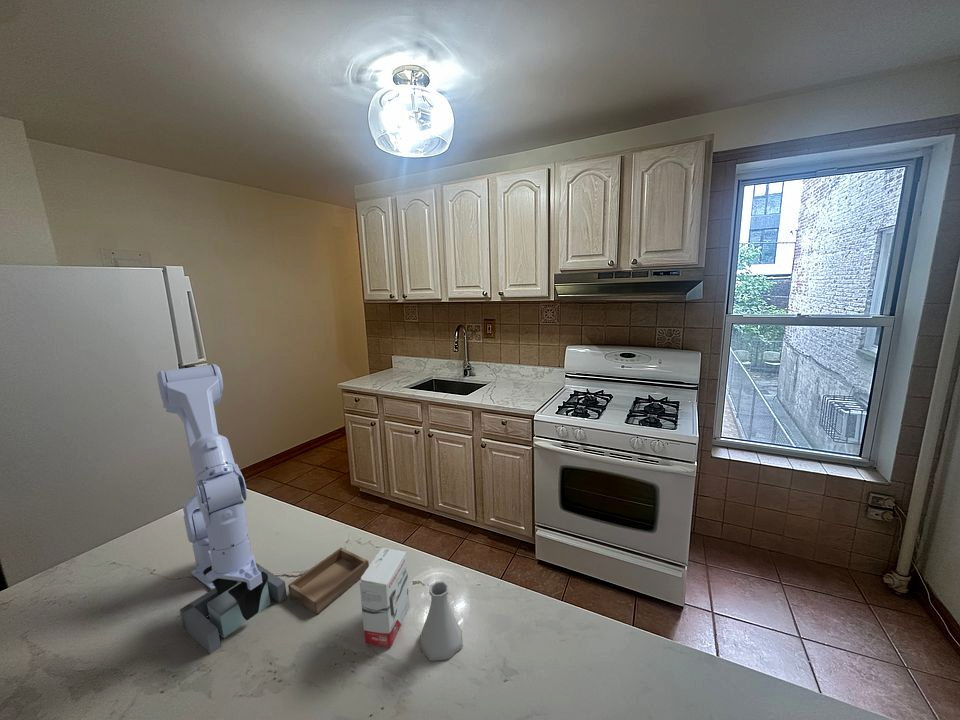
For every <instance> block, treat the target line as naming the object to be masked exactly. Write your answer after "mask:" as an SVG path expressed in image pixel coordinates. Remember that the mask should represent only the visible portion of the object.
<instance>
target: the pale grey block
mask: <svg viewBox="0 0 960 720" xmlns="http://www.w3.org/2000/svg"><path fill="white" fill-rule="evenodd" d="M240 583H241V582H239V583H238V584H240ZM238 584H236V585H235V586H237V585H238ZM235 586H233V587H231V588H230V589H232V588H234V587H235ZM230 589H228V590H227V591H225V592H224V593H222V594H221V595H219V596H217V597H216V598H214V599H213V600H211V601H210V602H208V603H207V607H208V612H209V616H208V617H209V621H210V622H211V623H212V624H213V625H215V626H216V627H217V628H218V633H219V636H221V637H222V638H223V639H225V638H227V637H228V636H229V635H231V633H234V632H235V631H237V629H239V628H240V627H241V626H243V625H244V624H246V623H247V622H248V621H250V620H251V619H252V618H254V617H256V615H258V614H259V613H261V612H262V611H263V610H264V609H266V608H267V607H269V606H271V597H270V596H269V591H268V584H267V582H266V584H265V586H264V588H263V591H262V594H261V599H260V606H259V611H258V613H257V614H256V615H254V616H253V617H251V618H250V619H249V620H245V619H244V617H243V616H242V613H241V610H240V607H239V605H238V603H237V601H236V600H235V598H234V597H233V596H232V595H230V594H229V593H228V591H229V590H230Z"/></svg>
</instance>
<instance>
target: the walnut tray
mask: <svg viewBox="0 0 960 720" xmlns="http://www.w3.org/2000/svg"><path fill="white" fill-rule="evenodd" d="M369 565H370V562H369V560H368V559H366V558H363V557H361V556H359V555H357V554H355V553H353V552H351V551H349V550H347V549H345V548H343V547H340V548H338V549H336V550H335V551H333V552H332V553H331V554H330V555H328V556H327V557H326V558H324V559H323V560H321V561H320V562H319V563H316V565H314V566H313V567H311V568H310V569H309V570H307V571H306V572H304V573H303V574H301V576H299V577H297V578H296V579H295V580H293V581H291V583H289V584H287V586H288V594H289V598H291V599H293V600H294V601H296V602H297V603H299V604H300V605H302V606H303V607H305V608H307V609H308V610H309V611H311V612H312V613H314V614H315V615H317V616H318V615H320V614H321V613H322V612H323V611H324V610H325V609H327V608H328V607H330V605H331V604H333V603H334V602H335V601H336V600H337V599H338V598H340V597H341V596H342V595H344V594H345V593H346V592H347V591H348V590H349V589H351V588H352V587H353V586H354V585H356V583H358V581H359V582H360V581H361V576H362V575H363V574H364V572H365V571H366V569H367V568H368V567H369Z"/></svg>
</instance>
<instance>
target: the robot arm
mask: <svg viewBox="0 0 960 720" xmlns="http://www.w3.org/2000/svg"><path fill="white" fill-rule="evenodd" d="M156 379H157V383H158V389H159V394H160V398H161V400H162V404H163V405H162V406H163V408H164V409H165V412H167V413H169V414H170V413H171V414H175V415H176V414H177V415H178V416H179V418H180V420H181V421H182V423H183V426H184V431H185V435H186V443H187V446H188V453H189V457H190V462H191V467H192V471H193V476H194V481H195V493H194V494H192V495H191V496H190V498H188V500H187V501H186V502H185V503H184V505H183V507H182V509H183V521H184V526H185V531H186V535H187V539H188V542H189V543H192V549H193V555H194V556H193V557H194V560H195V566H196V569H193V570H192V571H191V575H193V577H195V578H196V579H198V580H199V581H200V582H201V583H202V584H204V585H205V586H206V587H207V588H208V589H210V591H211V590H212V589H214V588H216V590H217V592H218V594H219V595H221V594H222V593H224V592H225V591H227V590H228V589H230V588H231V587H233V586H235V585H236V584H237V581H241V583H240V584H238V585H237V586H235V587H234V588H232V589H230V590H229V591H228V593H229V594H230V595H232V596H233V597H234V598H235V600H236V601H237V603H238V605H239V607H240V610H241V613H242V616H243V617H244V619H245V620H248V621H250V620H251V619H252V618H254V617H255V616H256V615H258V614H259V613H258V611H259V606H260V599H261V594H262V591H263V588H264V586H265V584H266V582H267V580H268V574H266V573H265V572H259V571H258V569H257V566H256V563H257V562H256V559H255V556H254V553H253V552H252V547H251V542H250V541H251V540H250V535H249V527H248V522H247V511H246V506H245V502H246V501H247V500H248V499H247V498H248V497H247V493H248V492H247V491H248V490H247V485H246V482H245V478H244V476H243V474H242V472H241V469H240V468H239V465H238V463H235V459H234V456H233V452H232V449H231V446H230V445H231V444H230V442H229V439H228V438H227V437H226V436H224V435H222V434H219V431H218V425H217V419H216V417H217V416H216V412H215V406H216V405H218V404H220V403H221V399H222V397H223V390H224V382H223V381H224V379H223V375H222V372H221V367H219V366H218V365H217V364H215V363H213V364H210V365H201V366H193V367H184V368H176V369H167V370H164V369H163V370H162V369H161V370H159V371H158V373H157V374H156ZM244 501H245V502H244ZM257 613H258V614H257ZM254 615H255V616H254ZM253 616H254V617H253ZM251 617H252V618H251ZM250 618H251V619H250ZM249 619H250V620H249Z"/></svg>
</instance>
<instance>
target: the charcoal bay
mask: <svg viewBox="0 0 960 720" xmlns="http://www.w3.org/2000/svg"><path fill="white" fill-rule="evenodd" d="M255 563H256V566H257V569H258V571H259V572H265V573H266V574H268V580H267V584H268V591H269V598H272V600H274V601H276V602H277V603H279V604H281V603H282V602H283V601H285V599H287V598H288V594H287V593H288V592H287V587H286V581H285V580H284V579H282V578H280V577H279V576H277V575H276V574H274V573H272V572H271V571H269V569H266V568H265V567H263V566H261V565H260V564H259V563H257V562H255ZM239 582H241V581H237V584H238V583H239ZM217 596H219V594H218V592H217V590H216V588H214V589H212V590H211V589H210V590H209V591H207V592H206V593H204V594H203V595H201V596H200V597H198V598H196V599H195V600H193V601H191V602H189V603H188V604H186V605H185V606H183V607H181V608H180V609H179V611H180V616H181V623H182V627H183V628H184V629H185V630H186V631H187V632H188V633H189V634H190V635H191V636H192V637H193V638H194V639H195V640H196V641H197V642H198V643H199V644H200V645H201V646H202V647H203V648H204V649H205V650H206V651H207V652H208V653H209V654H212V653H214V652H215V651H216V650H218V649H220V648H221V647H222V645H221V639H220V634H219V633H218V628H217V627H216V626H215V625H213V624H212V623H211V622H210V619H208V617H209V612H208V607H207V603H208V602H210V601H211V600H213V599H214V598H216V597H217Z"/></svg>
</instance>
